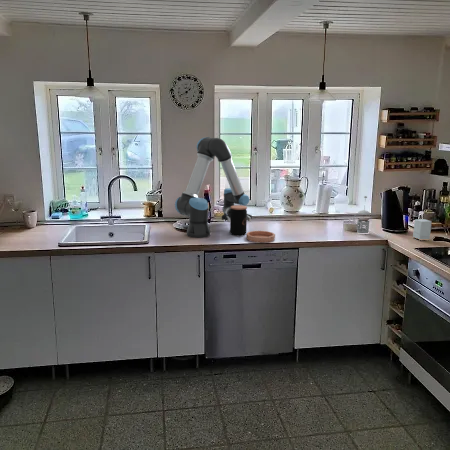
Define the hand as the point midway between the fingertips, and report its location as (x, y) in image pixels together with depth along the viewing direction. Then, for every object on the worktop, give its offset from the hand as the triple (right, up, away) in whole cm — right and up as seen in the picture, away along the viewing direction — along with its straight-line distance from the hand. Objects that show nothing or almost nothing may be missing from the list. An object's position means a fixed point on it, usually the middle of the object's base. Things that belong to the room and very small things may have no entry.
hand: (239, 219), depth 278 cm
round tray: (+13, -12, -6) cm, 19 cm away
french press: (+82, -9, +14) cm, 84 cm away
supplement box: (+115, -13, -2) cm, 116 cm away
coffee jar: (-1, -9, +5) cm, 11 cm away
